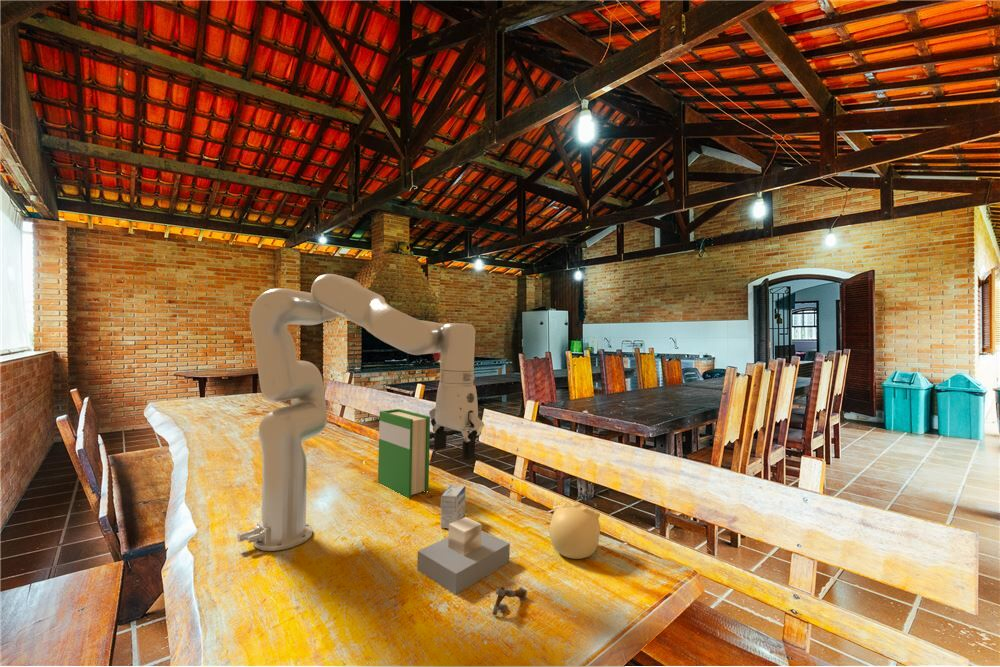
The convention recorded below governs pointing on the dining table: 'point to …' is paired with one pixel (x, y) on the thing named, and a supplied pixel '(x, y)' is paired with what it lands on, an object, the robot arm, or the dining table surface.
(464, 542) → the wooden cube
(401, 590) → the dining table surface
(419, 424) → the hardback book
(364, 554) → the dining table surface
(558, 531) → the sculpture
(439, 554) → the stand
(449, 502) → the medicine box
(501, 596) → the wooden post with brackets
